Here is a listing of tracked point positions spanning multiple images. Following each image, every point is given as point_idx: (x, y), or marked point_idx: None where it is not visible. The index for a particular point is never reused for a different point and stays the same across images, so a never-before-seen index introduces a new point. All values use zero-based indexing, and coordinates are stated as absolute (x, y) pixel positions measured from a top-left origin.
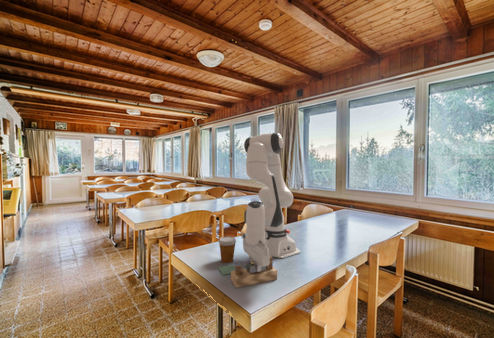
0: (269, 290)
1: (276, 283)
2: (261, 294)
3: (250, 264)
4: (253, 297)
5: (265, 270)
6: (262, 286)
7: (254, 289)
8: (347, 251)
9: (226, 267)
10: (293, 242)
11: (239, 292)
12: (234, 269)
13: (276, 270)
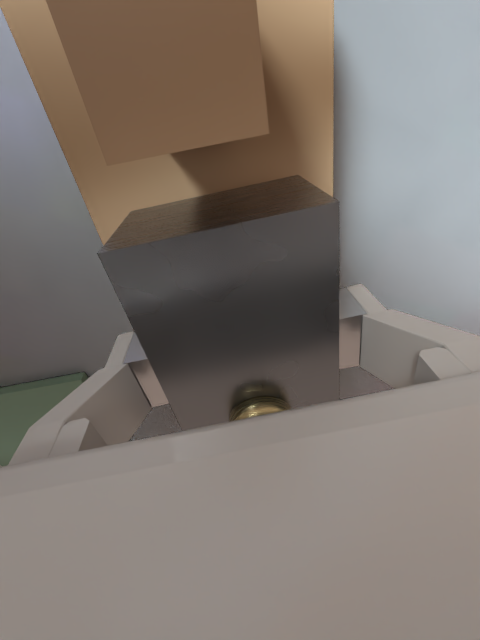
0: (465, 185)
1: (390, 28)
2: (471, 272)
3: None
4: (466, 330)
5: (264, 166)
6: (372, 231)
7: (383, 305)
8: None
9: (14, 446)
10: None
11: (369, 392)
12: (45, 404)
13: None
